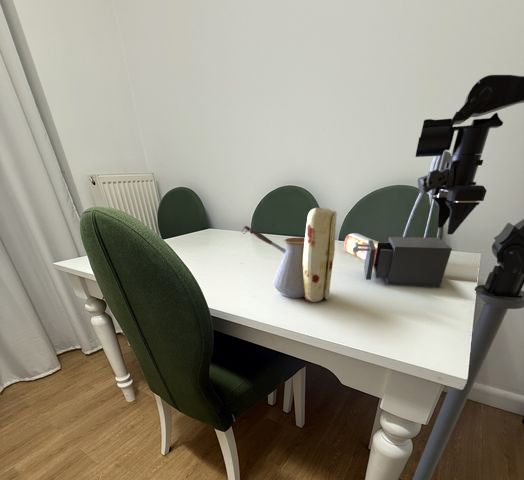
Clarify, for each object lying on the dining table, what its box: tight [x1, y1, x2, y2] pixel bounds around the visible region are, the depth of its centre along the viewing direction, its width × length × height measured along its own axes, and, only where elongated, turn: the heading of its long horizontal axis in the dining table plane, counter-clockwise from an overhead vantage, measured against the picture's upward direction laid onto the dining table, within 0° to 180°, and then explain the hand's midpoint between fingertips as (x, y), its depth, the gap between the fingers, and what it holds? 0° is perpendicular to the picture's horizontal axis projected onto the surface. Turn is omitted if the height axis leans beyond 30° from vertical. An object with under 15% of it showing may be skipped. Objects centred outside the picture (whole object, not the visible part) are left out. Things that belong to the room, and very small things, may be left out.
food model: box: [303, 207, 338, 303], centre depth 65 cm, size 10×7×20 cm
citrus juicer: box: [402, 150, 452, 239], centre depth 86 cm, size 11×10×30 cm
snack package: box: [343, 232, 379, 267], centre depth 98 cm, size 21×7×7 cm, turn 12°
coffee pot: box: [241, 225, 305, 299], centre depth 73 cm, size 21×12×15 cm, turn 57°
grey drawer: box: [352, 239, 394, 280], centre depth 81 cm, size 16×12×8 cm
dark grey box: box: [384, 236, 453, 289], centre depth 79 cm, size 13×13×10 cm
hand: (444, 230), depth 72 cm, fingers open, 9 cm apart
